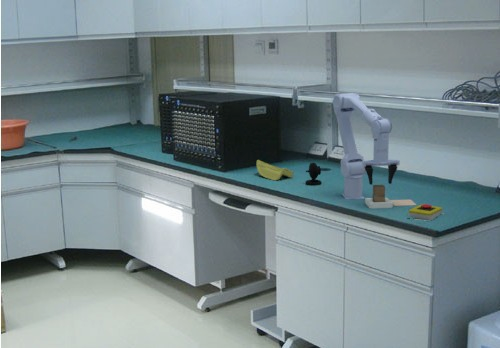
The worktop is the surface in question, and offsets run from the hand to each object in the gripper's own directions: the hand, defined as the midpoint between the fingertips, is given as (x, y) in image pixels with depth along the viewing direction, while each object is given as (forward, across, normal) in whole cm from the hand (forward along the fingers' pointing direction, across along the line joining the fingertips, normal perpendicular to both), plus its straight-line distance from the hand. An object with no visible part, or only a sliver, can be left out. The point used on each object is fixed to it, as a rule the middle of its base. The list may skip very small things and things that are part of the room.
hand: (380, 183), depth 271 cm
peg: (+9, 0, 0) cm, 9 cm away
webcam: (+10, -19, +46) cm, 51 cm away
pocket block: (+9, 0, 0) cm, 9 cm away
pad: (+9, +10, +3) cm, 14 cm away
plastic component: (+10, -35, +66) cm, 75 cm away
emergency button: (+10, +13, -16) cm, 23 cm away
